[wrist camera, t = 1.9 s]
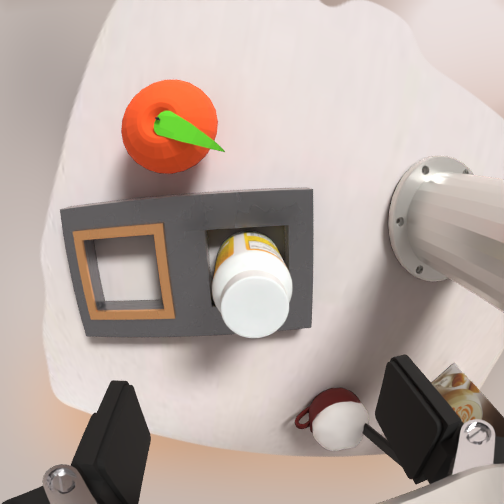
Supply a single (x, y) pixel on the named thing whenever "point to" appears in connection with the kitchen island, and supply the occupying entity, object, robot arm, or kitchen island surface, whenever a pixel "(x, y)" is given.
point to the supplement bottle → (251, 285)
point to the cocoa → (341, 422)
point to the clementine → (169, 126)
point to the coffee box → (467, 399)
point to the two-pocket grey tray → (184, 257)
